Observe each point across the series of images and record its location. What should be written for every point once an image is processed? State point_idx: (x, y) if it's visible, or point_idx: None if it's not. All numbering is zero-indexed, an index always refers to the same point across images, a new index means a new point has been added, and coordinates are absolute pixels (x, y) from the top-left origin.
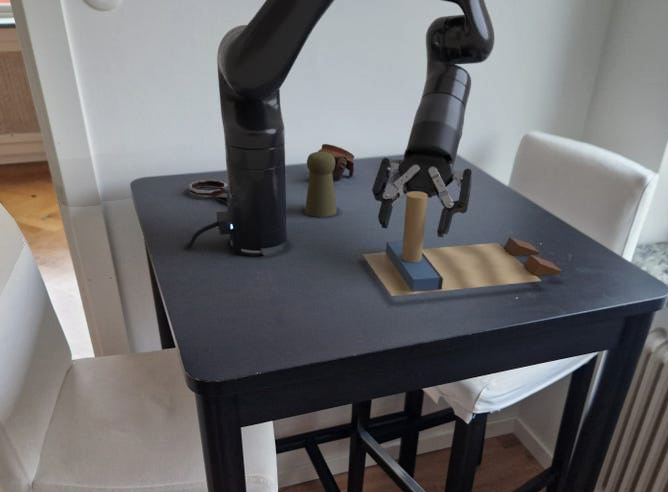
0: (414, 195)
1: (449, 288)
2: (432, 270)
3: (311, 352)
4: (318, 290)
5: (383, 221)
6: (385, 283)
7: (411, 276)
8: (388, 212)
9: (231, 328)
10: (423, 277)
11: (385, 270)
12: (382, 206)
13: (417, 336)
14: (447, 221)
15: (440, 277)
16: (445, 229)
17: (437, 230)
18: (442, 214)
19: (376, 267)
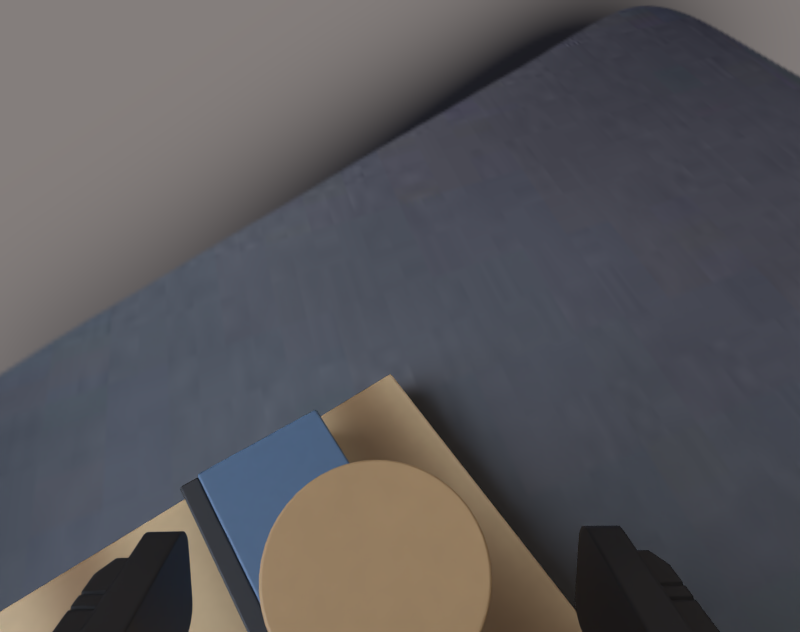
0: (395, 524)
1: (158, 528)
2: (238, 540)
3: (503, 110)
4: (689, 402)
5: (598, 527)
6: (450, 464)
7: (329, 432)
8: (613, 604)
9: (745, 135)
10: (272, 441)
11: (500, 605)
12: (697, 626)
13: (259, 243)
14: (91, 605)
15: (193, 489)
16: (120, 559)
17: (183, 531)
18: (124, 607)
19: (557, 626)
